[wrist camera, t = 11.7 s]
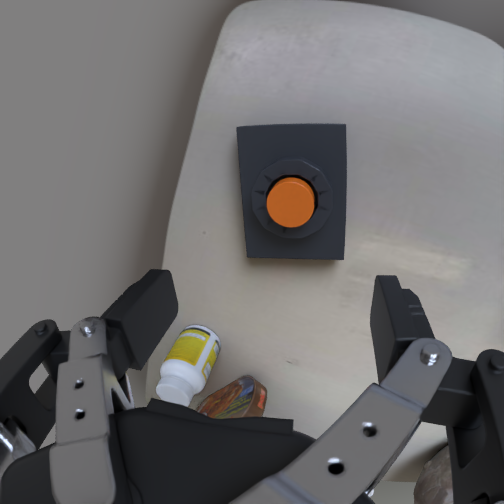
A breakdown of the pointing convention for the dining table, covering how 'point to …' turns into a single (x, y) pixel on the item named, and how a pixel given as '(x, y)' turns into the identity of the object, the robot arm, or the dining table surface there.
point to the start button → (290, 202)
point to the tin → (236, 400)
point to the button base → (302, 167)
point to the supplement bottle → (188, 365)
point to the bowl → (435, 481)
